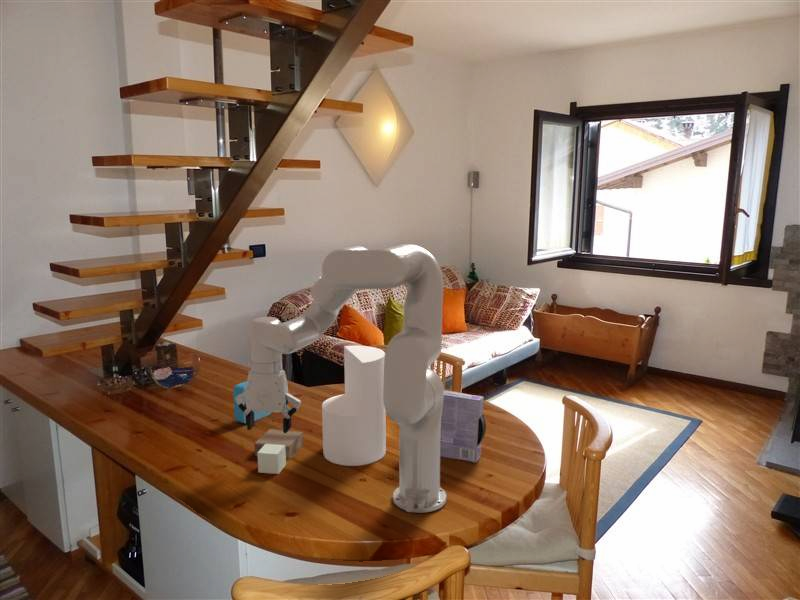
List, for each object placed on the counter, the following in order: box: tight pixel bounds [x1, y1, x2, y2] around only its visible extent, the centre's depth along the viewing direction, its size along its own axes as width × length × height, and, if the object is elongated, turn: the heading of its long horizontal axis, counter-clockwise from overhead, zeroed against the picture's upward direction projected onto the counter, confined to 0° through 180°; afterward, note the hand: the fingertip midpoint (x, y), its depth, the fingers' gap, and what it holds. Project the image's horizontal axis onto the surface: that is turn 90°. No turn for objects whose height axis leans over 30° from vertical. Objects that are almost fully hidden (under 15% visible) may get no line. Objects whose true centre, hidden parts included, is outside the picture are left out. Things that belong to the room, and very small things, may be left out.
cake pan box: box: [440, 390, 487, 464], centre depth 164 cm, size 19×5×18 cm, turn 68°
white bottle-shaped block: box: [321, 345, 387, 467], centre depth 165 cm, size 17×17×28 cm
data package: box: [233, 380, 273, 425], centre depth 191 cm, size 12×4×12 cm, turn 146°
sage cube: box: [257, 444, 287, 475], centre depth 158 cm, size 6×6×6 cm
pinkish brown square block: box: [254, 428, 304, 460], centre depth 169 cm, size 10×10×4 cm
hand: (268, 429), depth 157 cm, fingers open, 9 cm apart
